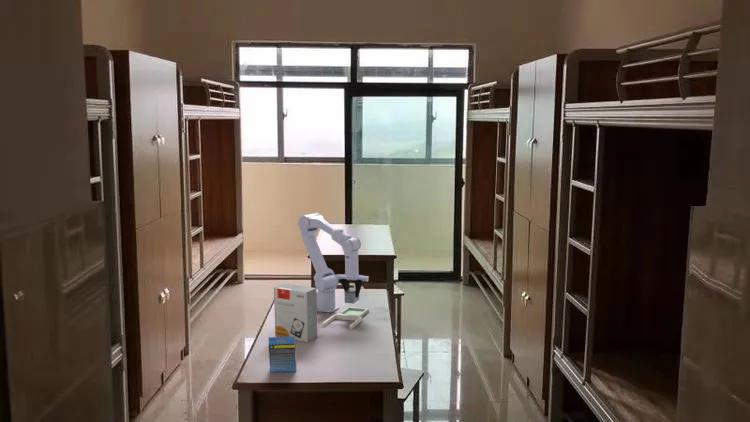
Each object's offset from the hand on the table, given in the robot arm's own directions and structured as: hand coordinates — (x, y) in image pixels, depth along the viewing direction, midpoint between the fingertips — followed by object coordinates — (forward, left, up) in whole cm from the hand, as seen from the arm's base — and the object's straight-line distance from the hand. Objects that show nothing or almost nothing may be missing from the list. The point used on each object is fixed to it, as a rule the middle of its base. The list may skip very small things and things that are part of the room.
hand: (352, 296), depth 284 cm
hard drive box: (-11, -33, -9) cm, 36 cm away
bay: (0, -12, -8) cm, 15 cm away
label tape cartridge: (0, -66, -9) cm, 67 cm away
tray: (0, +1, -8) cm, 8 cm away
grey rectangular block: (0, -1, -2) cm, 2 cm away
